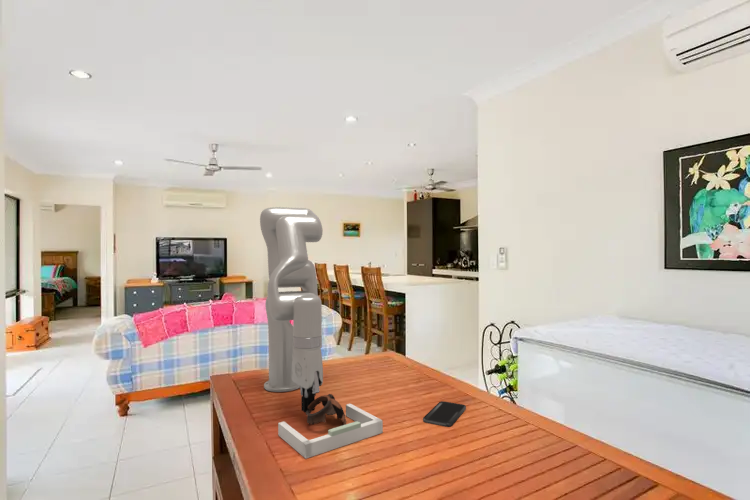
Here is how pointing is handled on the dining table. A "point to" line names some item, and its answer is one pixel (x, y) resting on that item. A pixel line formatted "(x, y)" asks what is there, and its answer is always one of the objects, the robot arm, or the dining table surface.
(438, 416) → the phone
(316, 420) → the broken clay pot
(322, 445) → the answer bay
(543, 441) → the dining table surface
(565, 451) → the dining table surface
